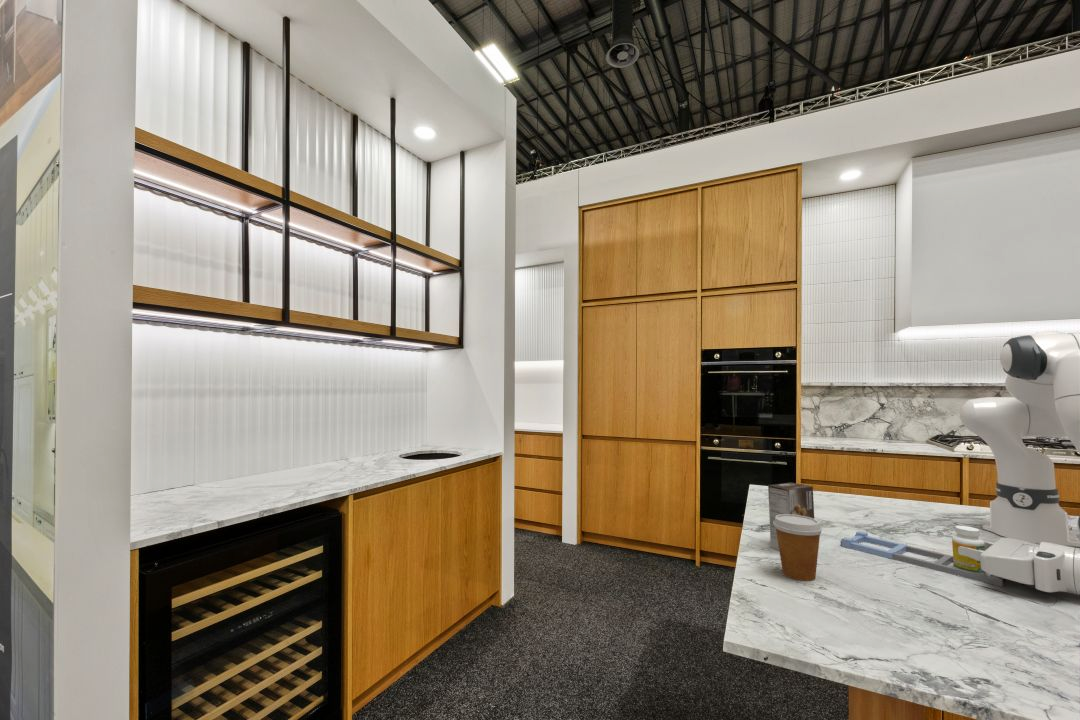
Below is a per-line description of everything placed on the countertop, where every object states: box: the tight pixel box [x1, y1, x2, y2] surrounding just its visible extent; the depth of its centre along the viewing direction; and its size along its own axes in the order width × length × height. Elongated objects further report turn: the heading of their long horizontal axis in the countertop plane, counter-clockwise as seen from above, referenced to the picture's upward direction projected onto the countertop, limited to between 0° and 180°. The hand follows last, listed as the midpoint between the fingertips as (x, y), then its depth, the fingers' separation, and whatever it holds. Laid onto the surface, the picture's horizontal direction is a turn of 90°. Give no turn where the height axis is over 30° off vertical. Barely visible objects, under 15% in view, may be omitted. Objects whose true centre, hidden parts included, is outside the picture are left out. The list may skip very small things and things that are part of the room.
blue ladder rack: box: [839, 530, 1004, 587], centre depth 109 cm, size 11×30×2 cm, turn 35°
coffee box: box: [767, 482, 815, 551], centre depth 116 cm, size 9×6×16 cm
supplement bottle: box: [951, 525, 987, 575], centre depth 102 cm, size 5×5×10 cm
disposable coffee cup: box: [773, 514, 823, 582], centre depth 100 cm, size 10×10×12 cm
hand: (963, 546), depth 103 cm, fingers closed on supplement bottle, 5 cm apart
